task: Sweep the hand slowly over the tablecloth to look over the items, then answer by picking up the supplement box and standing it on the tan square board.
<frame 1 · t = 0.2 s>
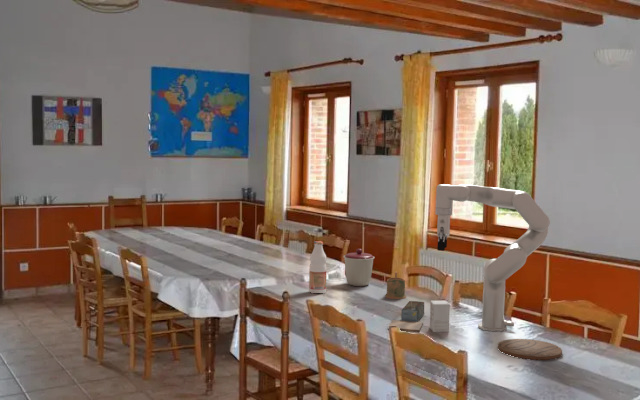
hand: (442, 248, 327), 35 cm above the table, tool pointing down, fingers open, 9 cm apart
tan square board: (405, 327, 323), on the table
rusty metal bell: (395, 295, 390), on the table
canister: (358, 284, 417), on the table
supplement box: (439, 330, 320), on the table
beverage carton: (412, 318, 342), on the table
trivet: (529, 352, 290), on the table
fruit juice: (317, 292, 393), on the table
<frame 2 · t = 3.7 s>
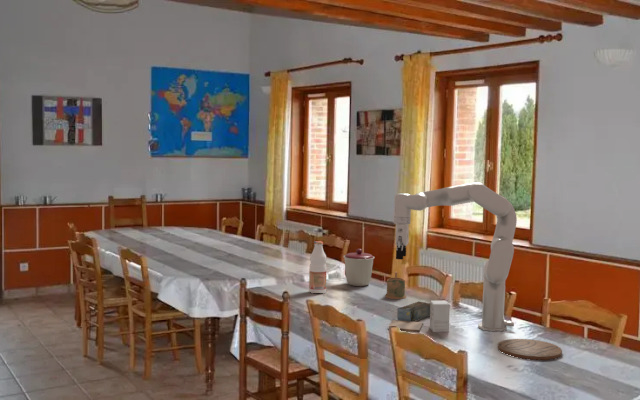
hand: (400, 257, 329), 30 cm above the table, tool pointing down, fingers open, 9 cm apart
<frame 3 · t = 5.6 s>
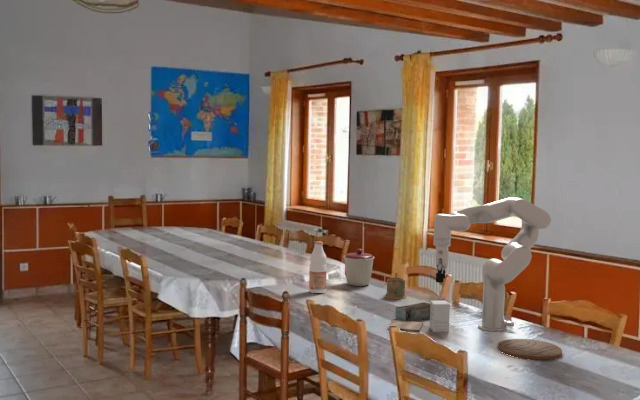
hand: (440, 280, 318), 22 cm above the table, tool pointing down, fingers open, 9 cm apart
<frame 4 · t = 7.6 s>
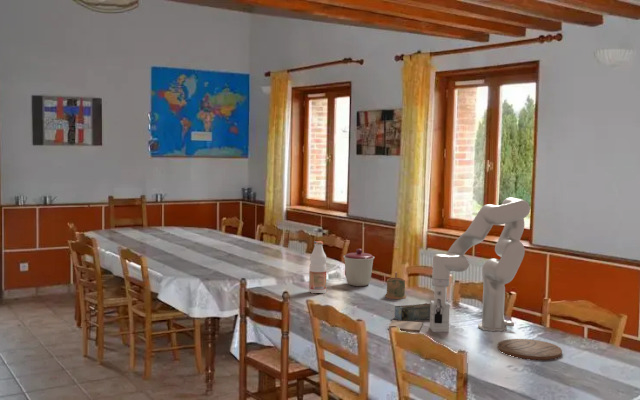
hand: (439, 320, 319), 4 cm above the table, tool pointing down, fingers closed on supplement box, 8 cm apart
supplement box: (439, 330, 320), on the table, touching gripper
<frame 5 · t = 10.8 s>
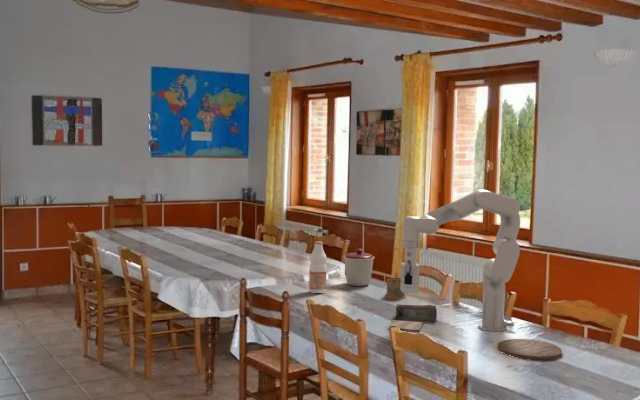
hand: (409, 282, 321), 21 cm above the table, tool pointing down, fingers closed on supplement box, 8 cm apart
supplement box: (409, 292, 322), point 16 cm above the table, touching gripper
when the fingers open (6 cm above the table, at t = 14.2 s): supplement box drops 1 cm, resting on tan square board.
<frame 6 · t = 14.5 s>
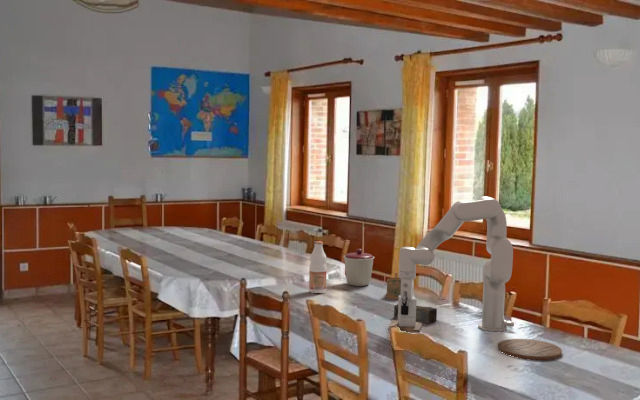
hand: (406, 312, 323), 7 cm above the table, tool pointing down, fingers open, 9 cm apart
supplement box: (406, 325, 323), point 1 cm above the table, touching tan square board
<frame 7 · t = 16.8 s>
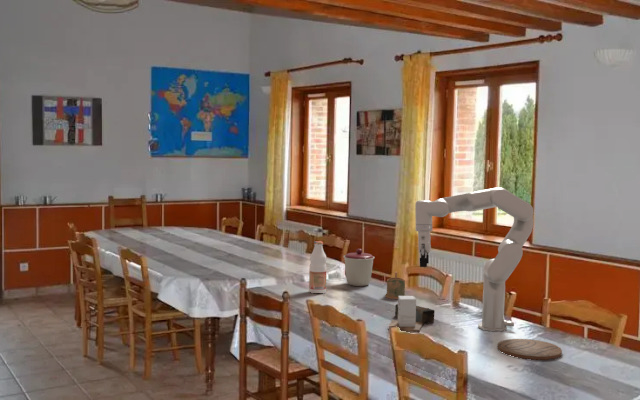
hand: (424, 265, 326), 28 cm above the table, tool pointing down, fingers open, 9 cm apart
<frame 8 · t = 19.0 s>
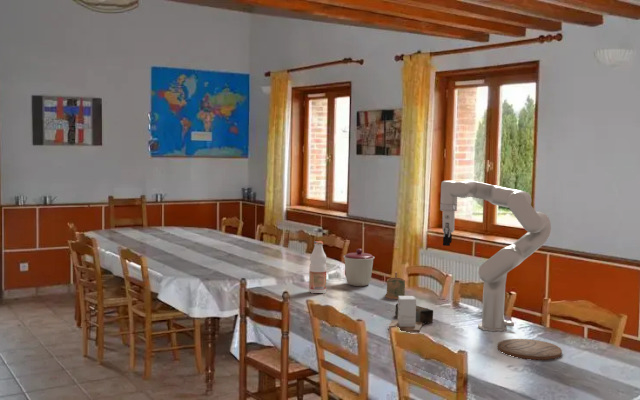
hand: (447, 244, 333), 36 cm above the table, tool pointing down, fingers open, 9 cm apart
at the end: supplement box inside the target area on the tan square board (0.3 cm from its centre), point 0.8 cm above the tan square board's base; supplement box tilted 0°; the gripper is holding nothing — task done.
